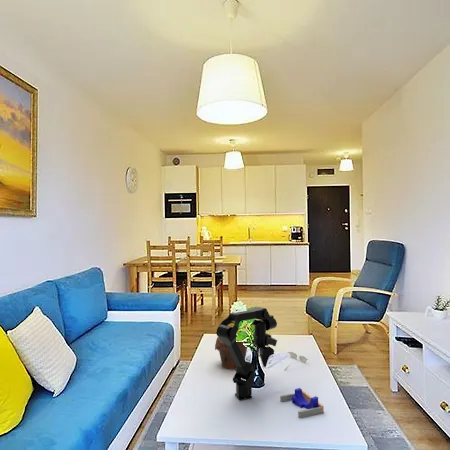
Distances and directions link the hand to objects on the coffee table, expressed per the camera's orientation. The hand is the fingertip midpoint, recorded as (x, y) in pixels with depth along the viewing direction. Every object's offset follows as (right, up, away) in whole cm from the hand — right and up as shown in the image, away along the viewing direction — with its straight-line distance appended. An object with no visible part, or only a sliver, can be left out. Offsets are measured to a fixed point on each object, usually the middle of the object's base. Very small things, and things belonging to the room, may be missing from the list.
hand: (260, 363), depth 201 cm
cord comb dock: (+16, -12, -20) cm, 29 cm away
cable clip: (+18, -13, -20) cm, 30 cm away
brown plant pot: (-13, -12, +31) cm, 36 cm away
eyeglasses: (+18, -12, +33) cm, 39 cm away
